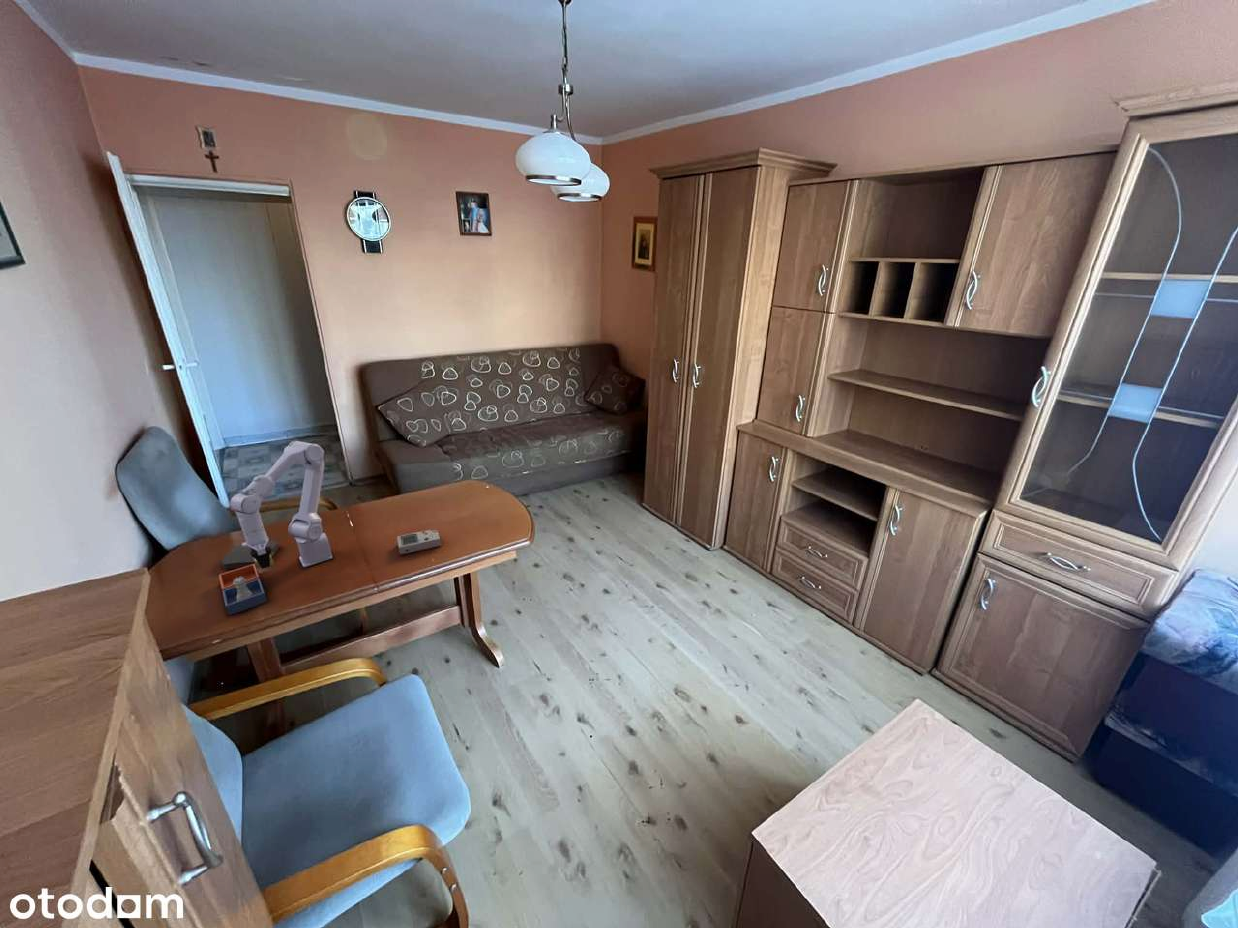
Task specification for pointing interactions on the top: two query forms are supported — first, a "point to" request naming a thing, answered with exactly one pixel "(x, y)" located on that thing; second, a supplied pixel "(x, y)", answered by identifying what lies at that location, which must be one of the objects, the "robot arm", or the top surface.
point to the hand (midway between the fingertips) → (264, 563)
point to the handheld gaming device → (418, 541)
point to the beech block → (264, 568)
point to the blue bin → (249, 602)
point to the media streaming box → (243, 556)
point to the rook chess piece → (242, 589)
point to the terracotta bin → (245, 572)
